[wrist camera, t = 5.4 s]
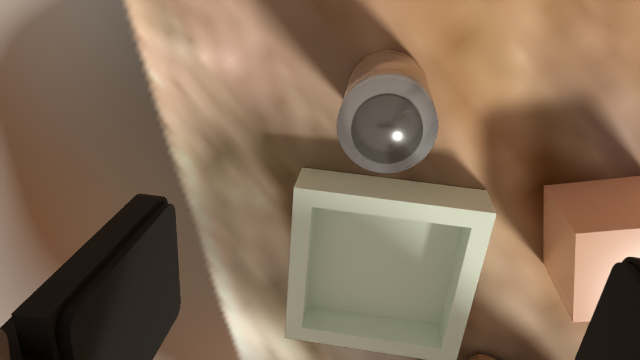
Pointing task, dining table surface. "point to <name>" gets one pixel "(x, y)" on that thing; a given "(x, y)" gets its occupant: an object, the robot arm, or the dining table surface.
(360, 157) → the cylinder
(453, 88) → the dining table surface
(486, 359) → the wooden block
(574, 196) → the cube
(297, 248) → the tray
